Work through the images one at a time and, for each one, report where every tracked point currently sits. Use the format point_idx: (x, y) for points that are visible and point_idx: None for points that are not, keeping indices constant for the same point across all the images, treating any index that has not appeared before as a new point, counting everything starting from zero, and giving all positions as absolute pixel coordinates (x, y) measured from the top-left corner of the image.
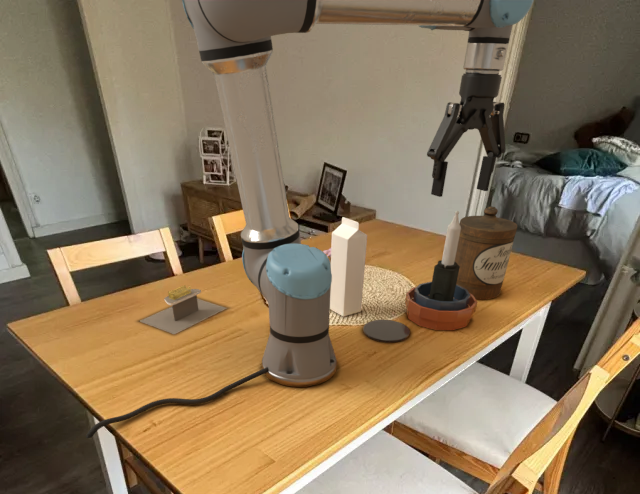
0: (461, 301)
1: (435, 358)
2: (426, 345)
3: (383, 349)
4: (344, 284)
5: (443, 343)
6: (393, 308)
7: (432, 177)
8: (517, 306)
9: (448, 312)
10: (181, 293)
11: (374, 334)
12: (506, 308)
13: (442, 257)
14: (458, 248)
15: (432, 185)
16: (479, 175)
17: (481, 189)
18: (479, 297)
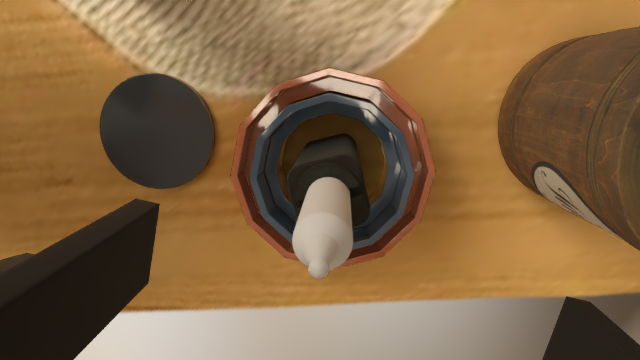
0: None
1: (156, 279)
2: (185, 235)
3: (93, 184)
4: None
5: (222, 254)
6: (280, 49)
7: (25, 254)
8: (552, 267)
9: (266, 239)
10: None
11: (114, 130)
12: (517, 254)
13: (311, 187)
14: (583, 83)
15: (107, 215)
16: (622, 350)
17: (552, 340)
18: (518, 178)
